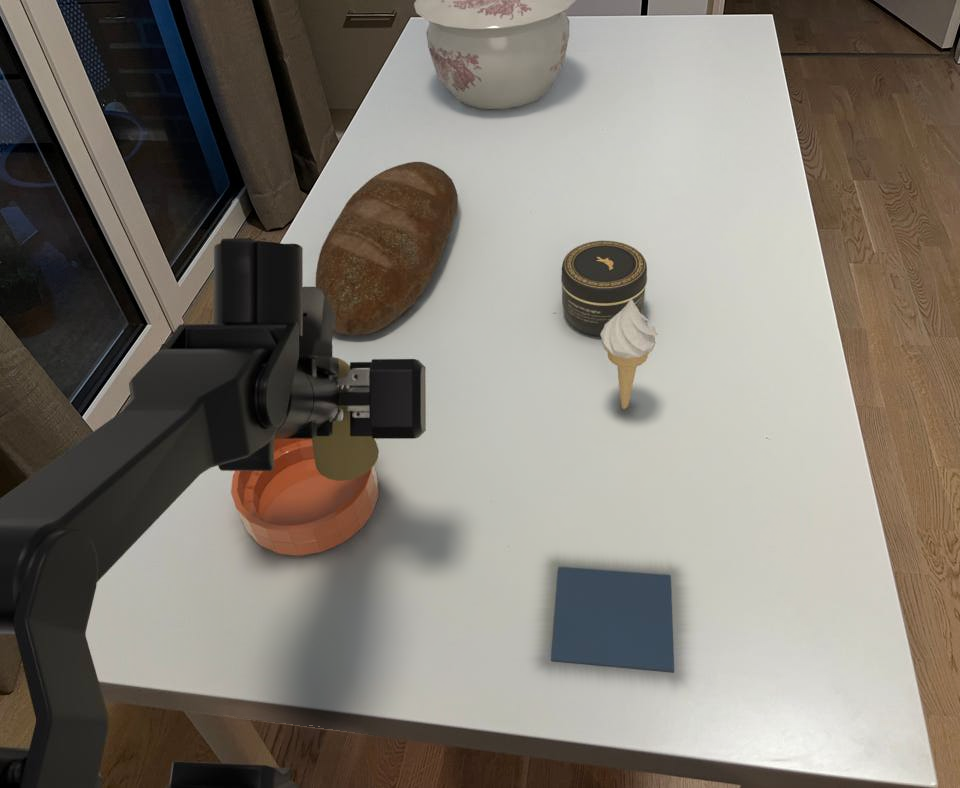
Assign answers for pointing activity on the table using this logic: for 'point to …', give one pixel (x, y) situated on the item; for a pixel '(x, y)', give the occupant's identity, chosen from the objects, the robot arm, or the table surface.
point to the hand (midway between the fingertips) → (337, 399)
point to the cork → (344, 446)
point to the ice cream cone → (628, 345)
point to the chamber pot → (496, 48)
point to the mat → (613, 619)
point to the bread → (386, 246)
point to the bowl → (301, 502)
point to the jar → (601, 283)
